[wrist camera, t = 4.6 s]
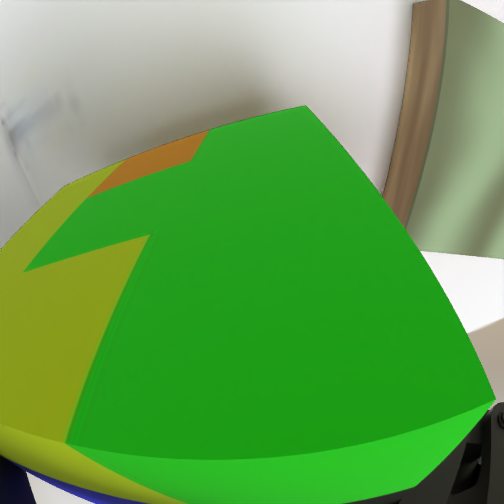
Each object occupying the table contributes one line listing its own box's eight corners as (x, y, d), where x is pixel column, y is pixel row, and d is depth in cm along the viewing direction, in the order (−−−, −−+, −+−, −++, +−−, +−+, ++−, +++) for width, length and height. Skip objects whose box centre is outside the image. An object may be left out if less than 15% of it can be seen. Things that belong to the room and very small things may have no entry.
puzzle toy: (161, 342, 17) (124, 513, 9) (64, 186, 11) (-90, 381, 3) (342, 312, 15) (379, 514, 7) (305, 105, 10) (496, 398, 1)
